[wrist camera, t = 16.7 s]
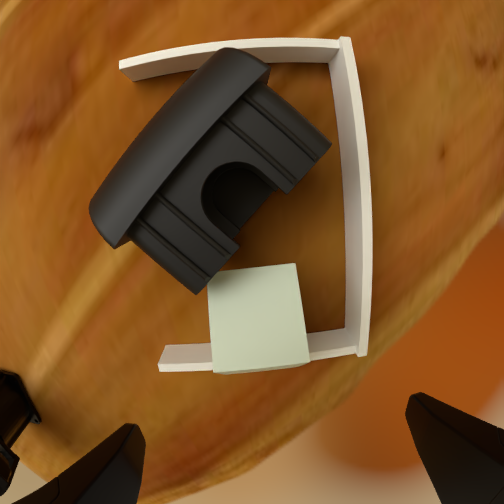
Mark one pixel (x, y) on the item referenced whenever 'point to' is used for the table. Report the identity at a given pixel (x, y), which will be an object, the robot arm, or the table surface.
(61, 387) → the table surface
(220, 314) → the block
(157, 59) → the white u-shaped frame
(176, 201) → the end cap
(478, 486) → the robot arm
